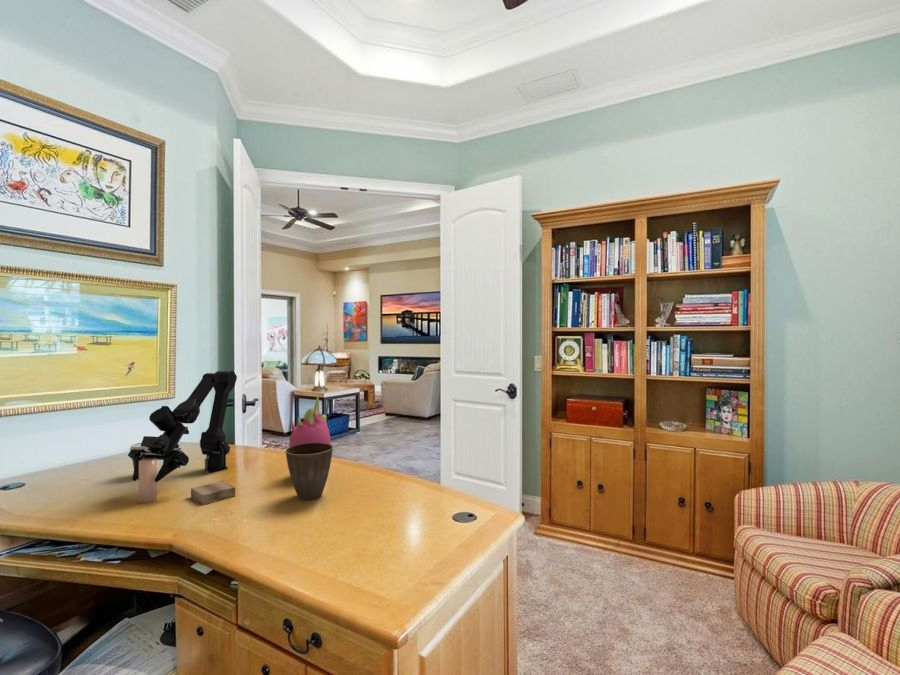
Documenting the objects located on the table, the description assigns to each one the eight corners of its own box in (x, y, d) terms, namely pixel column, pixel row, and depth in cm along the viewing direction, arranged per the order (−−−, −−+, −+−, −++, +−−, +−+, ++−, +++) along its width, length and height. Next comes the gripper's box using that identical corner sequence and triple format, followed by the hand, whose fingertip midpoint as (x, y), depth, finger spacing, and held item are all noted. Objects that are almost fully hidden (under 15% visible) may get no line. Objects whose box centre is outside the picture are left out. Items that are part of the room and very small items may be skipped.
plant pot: (319, 506, 139) (319, 455, 139) (276, 503, 142) (276, 452, 142) (340, 490, 154) (340, 443, 154) (301, 487, 157) (300, 441, 157)
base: (222, 489, 155) (222, 480, 155) (235, 496, 148) (235, 487, 148) (190, 497, 148) (190, 488, 147) (202, 504, 141) (202, 495, 141)
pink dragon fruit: (316, 467, 181) (315, 392, 180) (340, 472, 174) (340, 395, 173) (279, 479, 165) (278, 398, 165) (304, 485, 158) (304, 401, 158)
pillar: (154, 496, 149) (153, 457, 149) (158, 499, 145) (158, 459, 145) (137, 500, 145) (136, 460, 145) (141, 504, 142) (141, 463, 142)
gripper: (132, 424, 150) (102, 467, 139) (182, 426, 148) (156, 469, 137) (151, 442, 158) (124, 484, 147) (199, 444, 156) (175, 486, 145)
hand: (144, 481), depth 144 cm, fingers open, 8 cm apart
